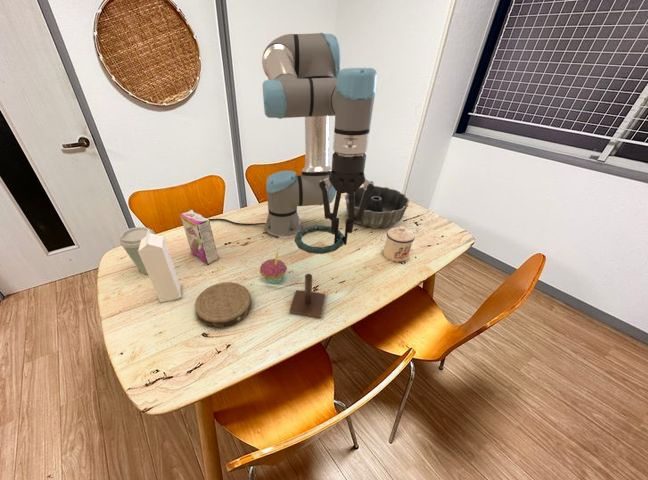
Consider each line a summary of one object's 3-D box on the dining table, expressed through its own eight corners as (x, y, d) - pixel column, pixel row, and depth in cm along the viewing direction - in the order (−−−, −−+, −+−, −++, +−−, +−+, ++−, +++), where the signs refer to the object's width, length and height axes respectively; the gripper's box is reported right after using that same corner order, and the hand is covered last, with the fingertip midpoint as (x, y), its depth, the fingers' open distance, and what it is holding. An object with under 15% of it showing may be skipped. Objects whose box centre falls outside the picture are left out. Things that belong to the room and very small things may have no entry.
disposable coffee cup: (159, 256, 103) (145, 220, 94) (172, 269, 97) (159, 232, 88) (129, 269, 97) (112, 232, 88) (141, 283, 91) (124, 245, 82)
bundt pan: (373, 241, 109) (377, 218, 103) (330, 215, 126) (332, 194, 120) (416, 222, 120) (423, 200, 114) (372, 201, 138) (375, 181, 132)
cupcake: (291, 275, 93) (290, 245, 86) (279, 291, 87) (277, 260, 80) (268, 269, 96) (266, 240, 89) (256, 284, 90) (252, 254, 83)
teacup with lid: (394, 265, 96) (402, 237, 89) (377, 252, 103) (382, 224, 96) (419, 256, 101) (428, 228, 93) (401, 244, 107) (408, 216, 100)
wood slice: (186, 309, 82) (183, 302, 80) (229, 282, 91) (227, 275, 89) (218, 338, 73) (216, 331, 71) (262, 305, 82) (261, 298, 81)
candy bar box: (190, 253, 105) (178, 214, 95) (202, 247, 107) (191, 209, 97) (207, 265, 99) (196, 224, 88) (219, 259, 101) (210, 219, 91)
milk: (160, 302, 84) (132, 241, 71) (161, 289, 89) (135, 230, 75) (181, 298, 86) (157, 237, 72) (181, 285, 90) (159, 226, 76)
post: (289, 313, 80) (288, 284, 73) (296, 292, 87) (295, 264, 80) (320, 318, 78) (322, 289, 71) (324, 296, 85) (327, 267, 78)
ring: (290, 252, 74) (289, 247, 73) (301, 228, 85) (300, 223, 84) (341, 257, 71) (341, 251, 70) (346, 231, 82) (346, 225, 81)
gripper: (314, 155, 61) (311, 246, 75) (384, 158, 58) (368, 251, 72) (318, 147, 66) (315, 232, 81) (383, 149, 64) (368, 237, 78)
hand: (340, 241), depth 76 cm, fingers closed on ring, 2 cm apart
